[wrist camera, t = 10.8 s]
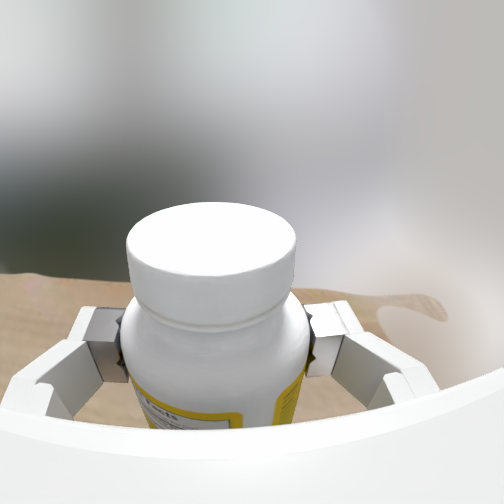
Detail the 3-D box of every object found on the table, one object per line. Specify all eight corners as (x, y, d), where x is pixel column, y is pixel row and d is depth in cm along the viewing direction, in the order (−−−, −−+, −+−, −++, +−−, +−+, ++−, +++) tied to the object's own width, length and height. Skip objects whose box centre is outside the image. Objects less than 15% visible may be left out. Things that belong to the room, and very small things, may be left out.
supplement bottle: (250, 379, 15) (263, 185, 10) (306, 463, 11) (382, 263, 6) (146, 408, 13) (95, 207, 8) (183, 509, 9) (101, 333, 4)
